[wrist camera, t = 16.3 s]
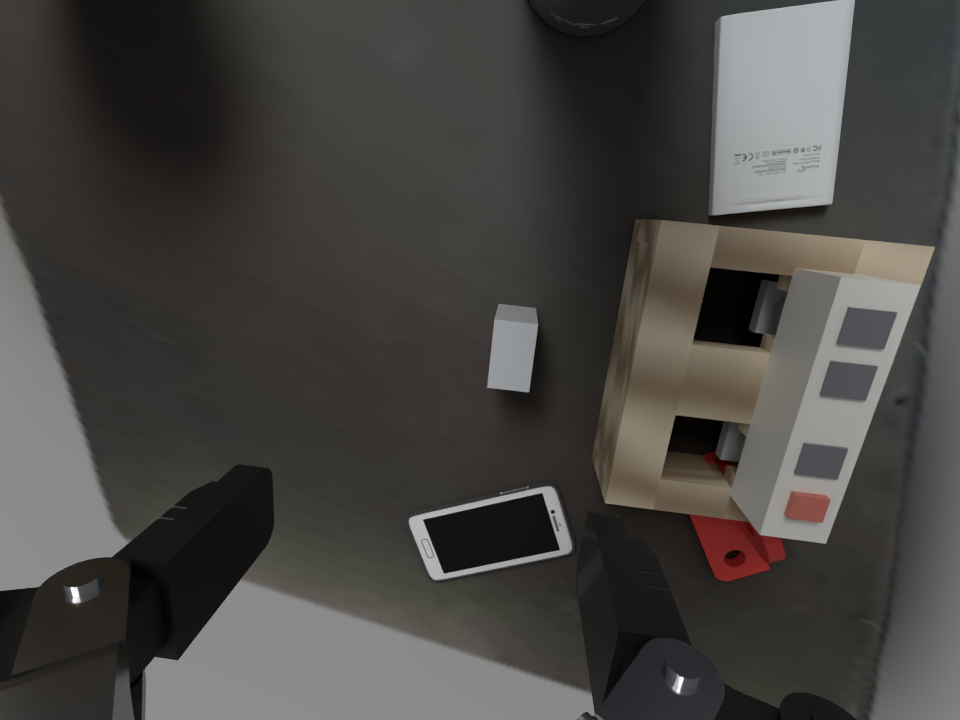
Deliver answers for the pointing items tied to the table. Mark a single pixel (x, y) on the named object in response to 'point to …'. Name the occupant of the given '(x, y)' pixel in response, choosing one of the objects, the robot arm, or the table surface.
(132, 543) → the robot arm
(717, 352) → the wooden block with holes
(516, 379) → the block
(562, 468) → the table surface
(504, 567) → the cell phone
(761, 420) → the power strip
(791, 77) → the external hard drive
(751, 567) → the bracket
